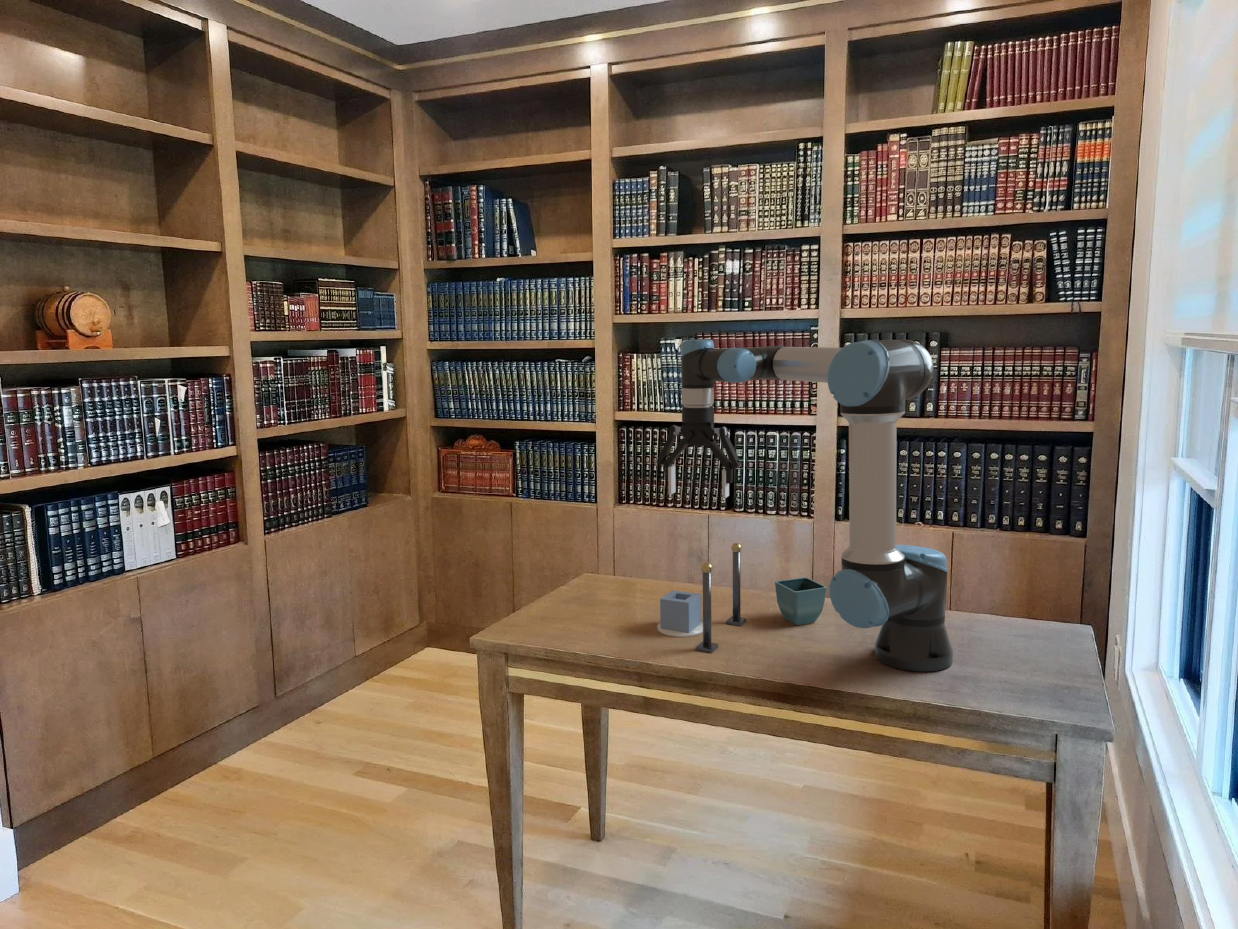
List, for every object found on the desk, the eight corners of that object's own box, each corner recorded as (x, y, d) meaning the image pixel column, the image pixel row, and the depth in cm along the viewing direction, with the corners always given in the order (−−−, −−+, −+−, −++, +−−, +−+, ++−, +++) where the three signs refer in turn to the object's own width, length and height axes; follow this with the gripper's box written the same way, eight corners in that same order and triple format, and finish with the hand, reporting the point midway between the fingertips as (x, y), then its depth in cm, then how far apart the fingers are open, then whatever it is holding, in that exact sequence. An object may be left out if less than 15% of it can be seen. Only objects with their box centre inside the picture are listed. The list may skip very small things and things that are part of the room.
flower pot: (827, 624, 195) (828, 586, 193) (794, 630, 191) (794, 591, 190) (805, 613, 203) (806, 576, 201) (773, 618, 199) (773, 581, 198)
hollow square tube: (701, 623, 195) (700, 594, 194) (689, 633, 189) (688, 603, 188) (673, 619, 198) (672, 590, 197) (660, 628, 192) (660, 598, 191)
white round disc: (712, 624, 196) (712, 622, 196) (694, 640, 186) (694, 637, 186) (669, 617, 201) (669, 615, 201) (649, 632, 192) (649, 630, 191)
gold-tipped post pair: (746, 621, 198) (746, 541, 195) (712, 653, 179) (711, 565, 176) (732, 619, 199) (731, 540, 196) (696, 650, 181) (695, 563, 178)
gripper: (754, 405, 197) (753, 495, 200) (655, 403, 207) (656, 488, 211) (744, 408, 190) (744, 501, 193) (642, 406, 201) (644, 494, 204)
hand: (698, 495), depth 202 cm, fingers open, 13 cm apart
